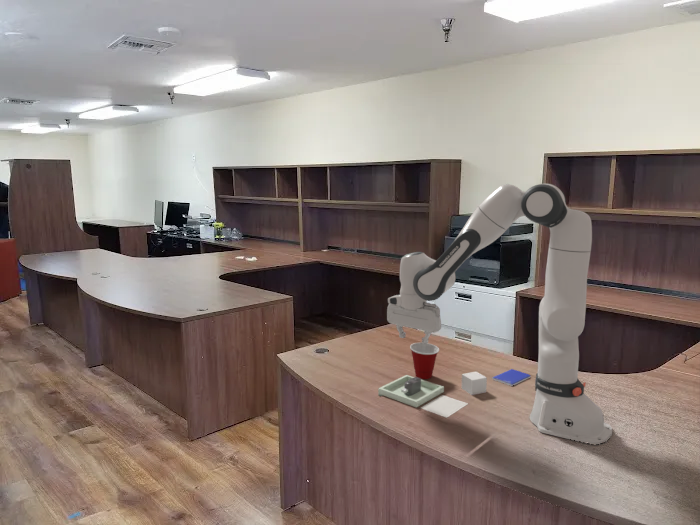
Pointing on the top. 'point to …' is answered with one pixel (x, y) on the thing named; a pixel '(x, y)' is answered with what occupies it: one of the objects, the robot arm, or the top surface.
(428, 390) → the tray
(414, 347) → the plastic cup
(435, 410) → the mat
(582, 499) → the top surface
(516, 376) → the hard drive
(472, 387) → the white cube
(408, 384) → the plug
